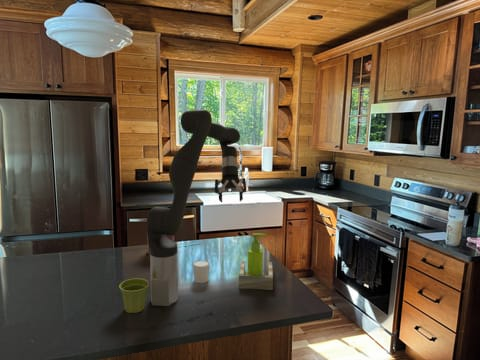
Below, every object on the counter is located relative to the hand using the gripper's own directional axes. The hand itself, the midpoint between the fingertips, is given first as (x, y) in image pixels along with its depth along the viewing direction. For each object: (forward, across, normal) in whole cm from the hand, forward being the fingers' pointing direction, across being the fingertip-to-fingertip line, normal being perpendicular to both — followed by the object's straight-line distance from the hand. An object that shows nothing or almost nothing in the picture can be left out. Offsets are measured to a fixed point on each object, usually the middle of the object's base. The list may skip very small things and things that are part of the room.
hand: (230, 201), depth 149 cm
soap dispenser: (+35, +9, -2) cm, 36 cm away
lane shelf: (+34, +9, 0) cm, 35 cm away
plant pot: (+44, -32, -22) cm, 59 cm away
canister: (+17, -36, +23) cm, 46 cm away
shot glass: (+34, -13, -2) cm, 36 cm away
